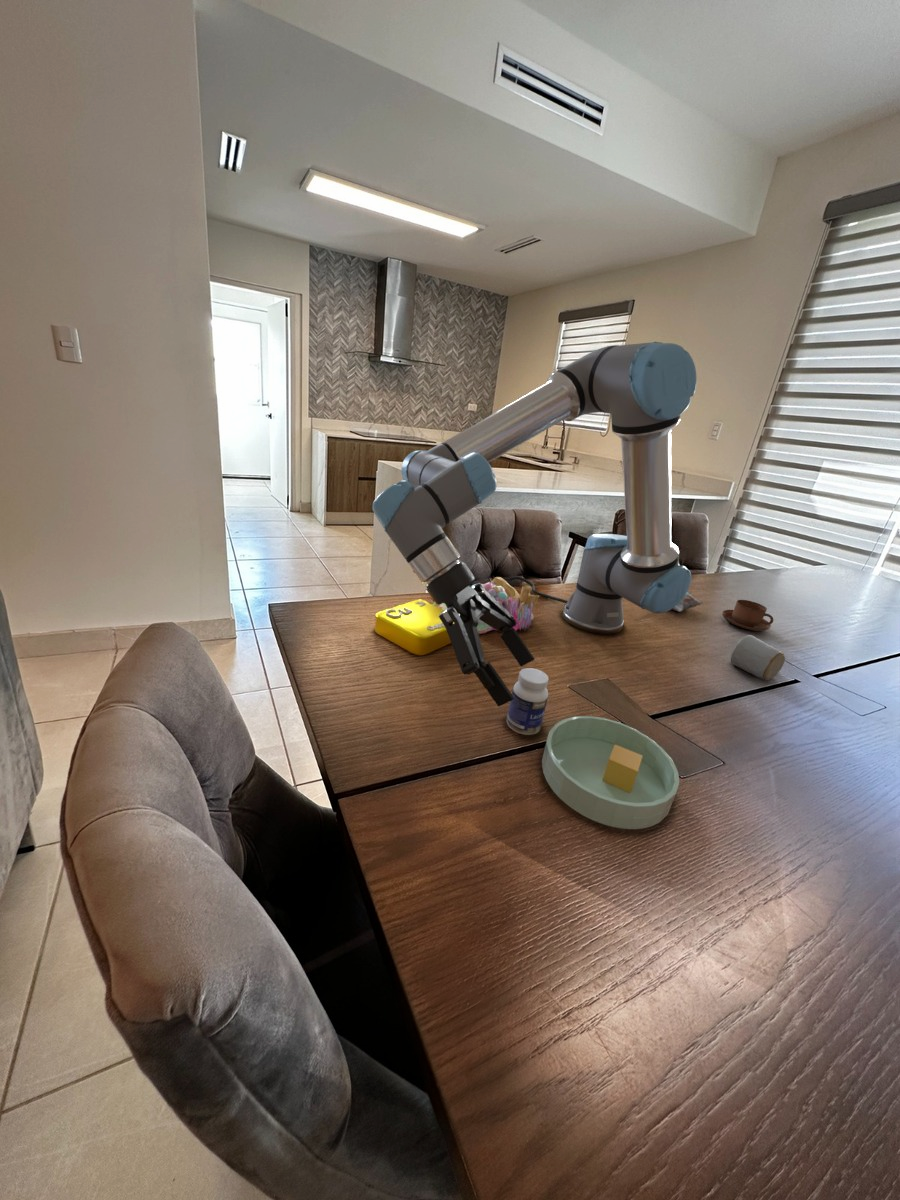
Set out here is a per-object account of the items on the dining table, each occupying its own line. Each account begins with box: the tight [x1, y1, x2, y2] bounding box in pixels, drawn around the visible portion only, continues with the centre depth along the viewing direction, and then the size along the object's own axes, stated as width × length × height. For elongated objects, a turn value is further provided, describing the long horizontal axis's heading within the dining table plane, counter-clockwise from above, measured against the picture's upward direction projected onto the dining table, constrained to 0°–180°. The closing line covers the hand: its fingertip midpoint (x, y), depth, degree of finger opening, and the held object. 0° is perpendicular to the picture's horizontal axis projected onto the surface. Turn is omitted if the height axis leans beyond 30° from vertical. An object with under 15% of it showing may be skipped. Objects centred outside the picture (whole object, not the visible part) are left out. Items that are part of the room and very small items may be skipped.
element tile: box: [374, 599, 454, 656], centre depth 104 cm, size 15×15×5 cm
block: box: [602, 744, 643, 793], centre depth 68 cm, size 4×4×4 cm
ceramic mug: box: [730, 634, 786, 681], centre depth 105 cm, size 11×8×8 cm
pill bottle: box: [506, 667, 550, 736], centre depth 77 cm, size 6×6×10 cm
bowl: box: [541, 715, 680, 830], centre depth 68 cm, size 18×18×4 cm
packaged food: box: [670, 592, 703, 613], centre depth 138 cm, size 9×12×5 cm
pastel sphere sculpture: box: [430, 576, 540, 635], centre depth 117 cm, size 25×24×9 cm
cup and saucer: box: [722, 599, 774, 632], centre depth 131 cm, size 12×12×6 cm
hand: (517, 681), depth 76 cm, fingers open, 13 cm apart
